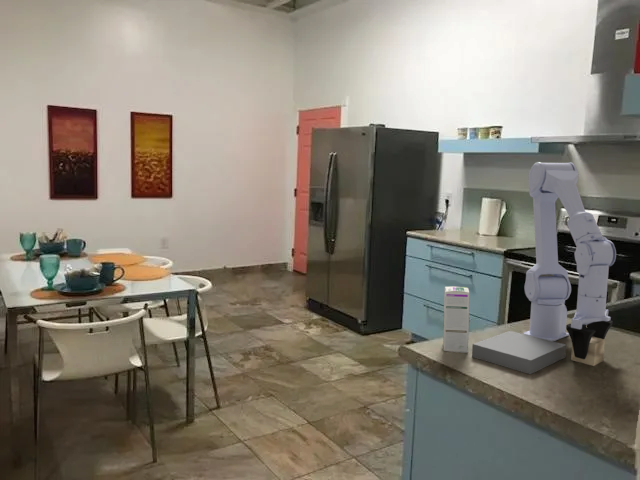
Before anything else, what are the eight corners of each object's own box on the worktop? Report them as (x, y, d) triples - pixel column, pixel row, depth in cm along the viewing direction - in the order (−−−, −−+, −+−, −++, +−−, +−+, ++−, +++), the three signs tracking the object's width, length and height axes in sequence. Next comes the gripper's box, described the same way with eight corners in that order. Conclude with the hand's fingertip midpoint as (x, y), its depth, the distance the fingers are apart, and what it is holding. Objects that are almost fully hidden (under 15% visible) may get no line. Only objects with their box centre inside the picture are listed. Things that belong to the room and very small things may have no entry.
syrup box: (468, 353, 128) (471, 291, 126) (442, 351, 129) (444, 290, 127) (467, 345, 133) (469, 286, 132) (442, 343, 135) (444, 285, 133)
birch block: (580, 355, 127) (582, 334, 127) (603, 361, 124) (605, 339, 123) (570, 360, 124) (572, 338, 123) (593, 366, 120) (595, 344, 120)
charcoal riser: (509, 342, 136) (509, 330, 136) (565, 357, 126) (566, 344, 125) (471, 356, 125) (472, 344, 125) (530, 374, 115) (530, 360, 115)
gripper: (596, 303, 114) (592, 366, 116) (624, 293, 124) (619, 351, 125) (563, 297, 119) (559, 357, 121) (591, 287, 129) (587, 344, 131)
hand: (587, 354), depth 124 cm, fingers open, 7 cm apart
